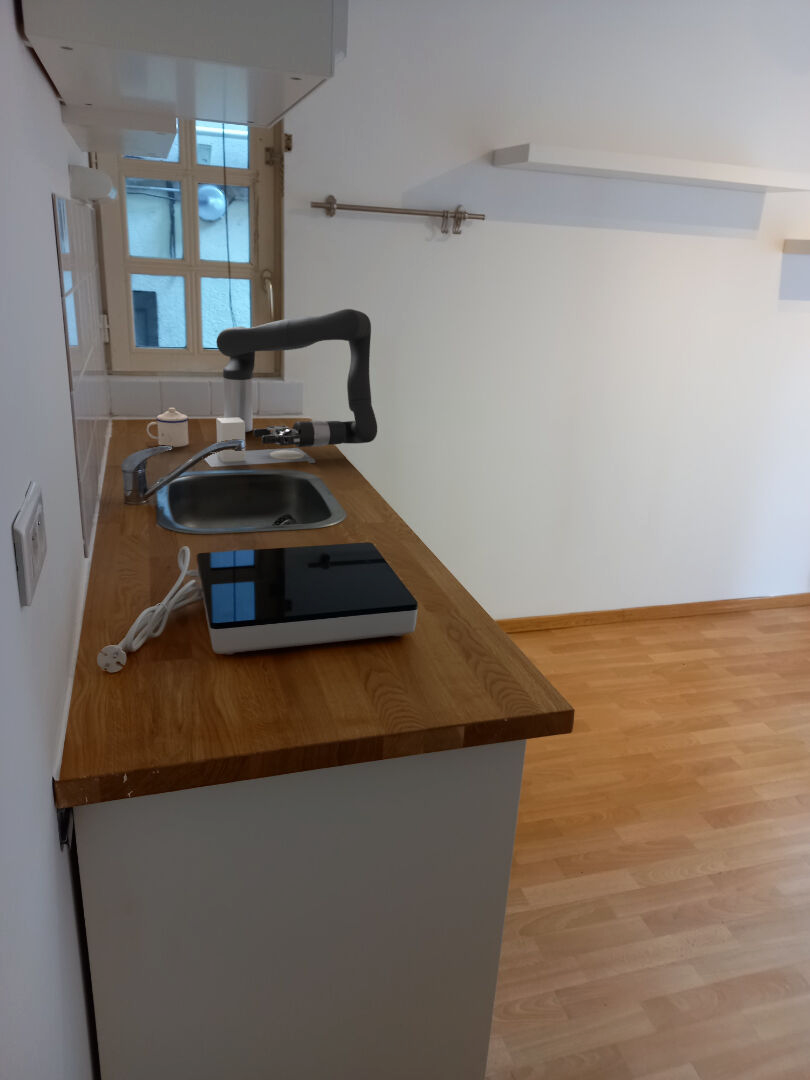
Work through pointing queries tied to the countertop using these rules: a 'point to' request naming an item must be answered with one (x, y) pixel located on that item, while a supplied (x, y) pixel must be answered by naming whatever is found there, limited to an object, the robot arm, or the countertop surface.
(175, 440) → the teacup with lid
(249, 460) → the board
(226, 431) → the white tall block
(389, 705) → the countertop surface
